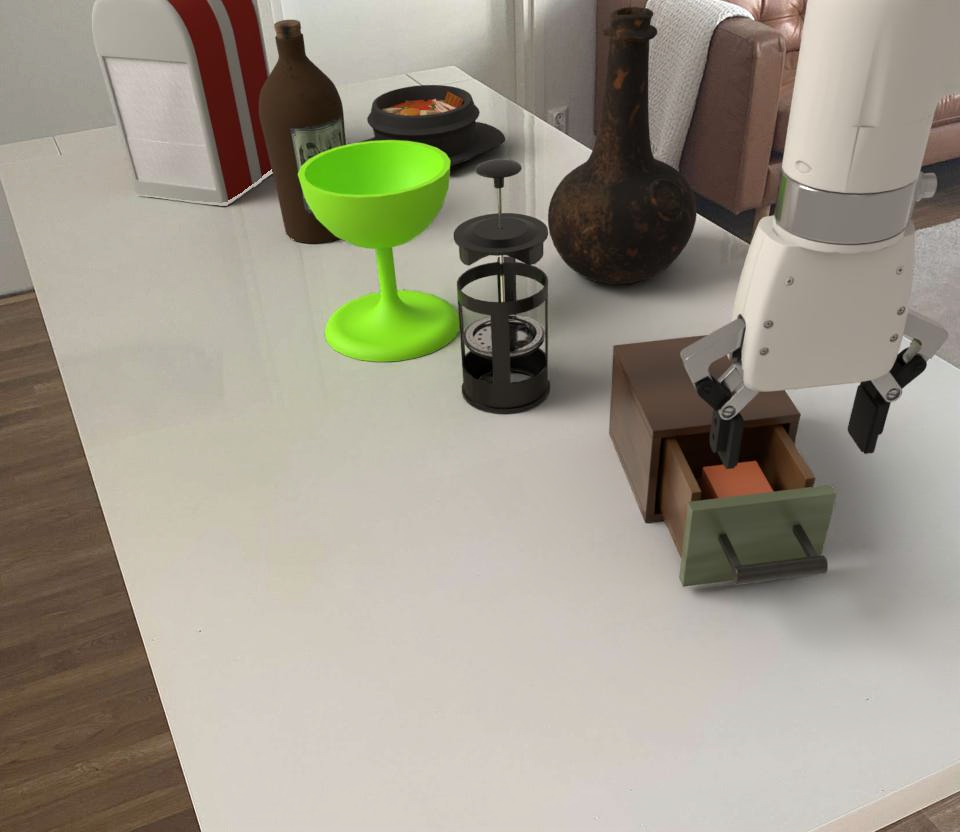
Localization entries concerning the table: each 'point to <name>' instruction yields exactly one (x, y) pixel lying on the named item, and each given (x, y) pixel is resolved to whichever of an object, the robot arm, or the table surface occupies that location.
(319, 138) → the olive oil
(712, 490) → the block
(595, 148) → the glass bottle
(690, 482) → the drawer
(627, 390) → the cabinet
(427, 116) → the casserole
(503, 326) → the french press
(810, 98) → the robot arm
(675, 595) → the table surface
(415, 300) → the wineglass
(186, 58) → the tissue box
